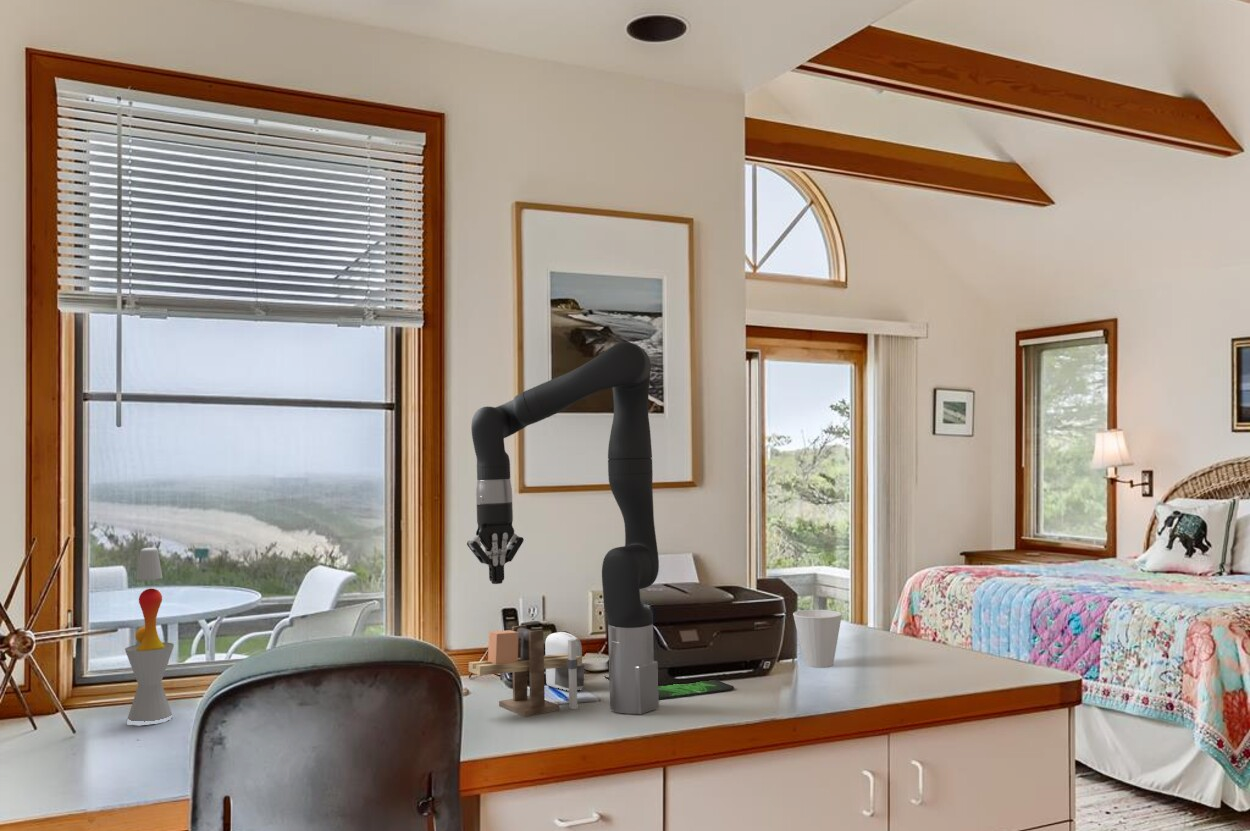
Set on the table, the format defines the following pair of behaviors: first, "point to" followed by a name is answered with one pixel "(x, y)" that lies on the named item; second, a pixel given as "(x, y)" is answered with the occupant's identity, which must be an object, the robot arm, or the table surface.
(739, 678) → the table surface
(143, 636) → the lava lamp
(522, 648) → the beam
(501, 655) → the rider
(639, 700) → the robot arm
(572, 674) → the post
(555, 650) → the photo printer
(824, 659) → the cup
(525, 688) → the pivot post
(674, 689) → the mouse mat
